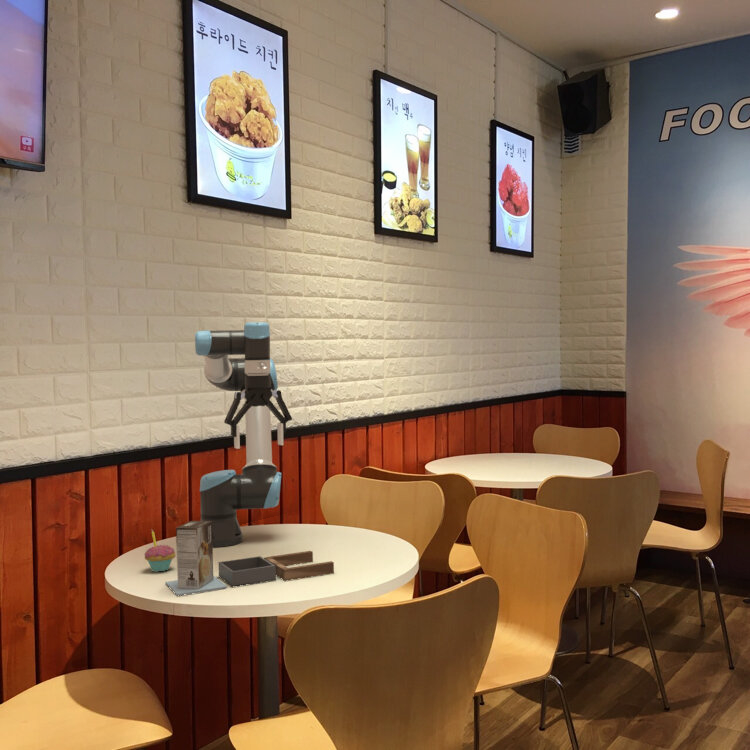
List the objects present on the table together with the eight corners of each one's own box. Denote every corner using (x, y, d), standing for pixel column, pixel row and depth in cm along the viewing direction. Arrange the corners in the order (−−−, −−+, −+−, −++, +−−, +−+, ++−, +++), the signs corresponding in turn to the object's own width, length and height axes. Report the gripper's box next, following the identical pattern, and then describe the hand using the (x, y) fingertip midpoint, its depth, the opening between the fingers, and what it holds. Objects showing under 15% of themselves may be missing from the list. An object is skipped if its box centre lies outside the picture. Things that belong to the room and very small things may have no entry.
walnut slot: (264, 567, 228) (263, 557, 228) (310, 560, 234) (310, 550, 234) (284, 581, 213) (284, 570, 213) (333, 573, 220) (333, 562, 220)
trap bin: (218, 576, 219) (218, 562, 219) (260, 570, 225) (260, 556, 225) (232, 587, 208) (232, 572, 208) (275, 580, 214) (275, 565, 214)
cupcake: (147, 575, 222) (145, 533, 222) (143, 568, 230) (141, 527, 229) (178, 571, 225) (176, 529, 225) (173, 564, 233) (172, 524, 233)
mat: (165, 584, 213) (165, 581, 213) (212, 577, 219) (212, 574, 219) (177, 596, 201) (177, 594, 201) (227, 588, 207) (226, 586, 207)
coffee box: (192, 578, 215) (190, 520, 215) (214, 579, 214) (212, 520, 214) (176, 588, 206) (175, 527, 206) (199, 589, 205) (198, 527, 205)
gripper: (220, 376, 224) (222, 451, 224) (301, 373, 236) (303, 444, 236) (212, 375, 230) (214, 448, 231) (292, 373, 242) (293, 442, 243)
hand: (259, 446), depth 234 cm, fingers open, 13 cm apart
